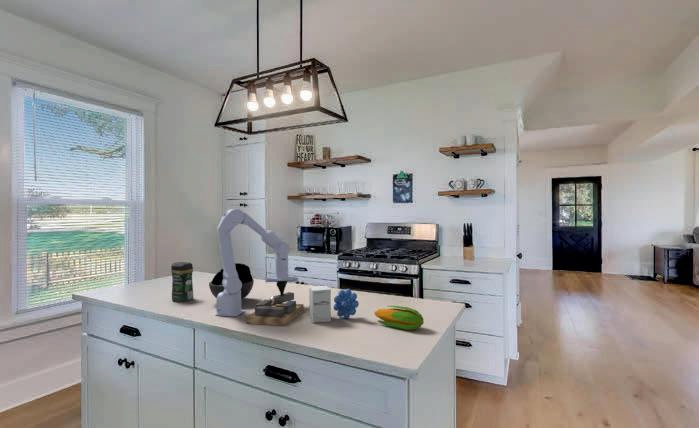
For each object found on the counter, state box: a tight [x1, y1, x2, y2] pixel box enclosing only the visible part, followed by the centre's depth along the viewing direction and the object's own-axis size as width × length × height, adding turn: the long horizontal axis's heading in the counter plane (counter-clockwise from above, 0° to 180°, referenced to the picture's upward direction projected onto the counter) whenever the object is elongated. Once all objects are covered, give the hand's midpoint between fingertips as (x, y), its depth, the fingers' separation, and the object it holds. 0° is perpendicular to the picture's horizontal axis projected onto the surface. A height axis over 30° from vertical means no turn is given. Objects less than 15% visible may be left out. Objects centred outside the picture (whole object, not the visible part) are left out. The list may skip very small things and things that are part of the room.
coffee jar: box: [170, 261, 194, 302], centre depth 168 cm, size 10×8×19 cm
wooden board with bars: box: [245, 299, 305, 327], centre depth 140 cm, size 16×20×6 cm
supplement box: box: [308, 285, 332, 324], centre depth 135 cm, size 7×7×13 cm
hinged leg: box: [269, 291, 295, 306], centre depth 152 cm, size 12×3×3 cm, turn 141°
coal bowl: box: [208, 262, 255, 301], centre depth 162 cm, size 20×20×19 cm
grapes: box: [333, 288, 360, 320], centre depth 137 cm, size 12×7×12 cm, turn 58°
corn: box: [373, 305, 425, 331], centre depth 126 cm, size 7×8×20 cm
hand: (282, 297), depth 156 cm, fingers closed, pressing on hinged leg
